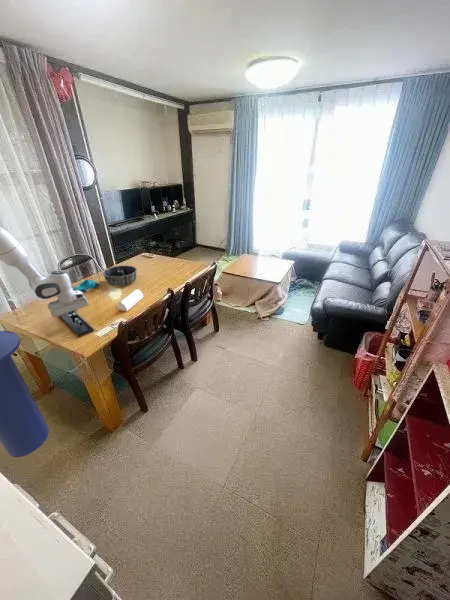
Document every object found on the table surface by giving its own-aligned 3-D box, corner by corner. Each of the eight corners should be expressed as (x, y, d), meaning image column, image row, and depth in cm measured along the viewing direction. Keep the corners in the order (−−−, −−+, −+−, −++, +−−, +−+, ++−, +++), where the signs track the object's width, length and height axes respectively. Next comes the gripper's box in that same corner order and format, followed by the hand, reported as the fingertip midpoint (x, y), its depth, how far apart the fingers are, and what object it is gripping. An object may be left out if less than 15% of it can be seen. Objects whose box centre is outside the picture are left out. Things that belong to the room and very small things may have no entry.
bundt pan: (122, 273, 228) (120, 263, 223) (145, 278, 218) (143, 267, 213) (98, 284, 207) (95, 273, 202) (122, 291, 197) (119, 279, 192)
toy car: (100, 285, 206) (98, 278, 202) (79, 294, 192) (77, 286, 188) (91, 283, 210) (89, 275, 207) (70, 291, 196) (68, 283, 193)
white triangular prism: (127, 308, 166) (146, 292, 186) (117, 302, 166) (138, 287, 186) (124, 316, 170) (143, 299, 190) (114, 310, 169) (135, 294, 190)
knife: (84, 328, 148) (82, 321, 146) (79, 330, 146) (77, 323, 144) (70, 310, 168) (68, 304, 166) (65, 311, 167) (63, 305, 165)
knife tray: (78, 337, 145) (77, 334, 144) (58, 314, 166) (57, 312, 165) (93, 331, 151) (92, 328, 150) (71, 310, 172) (70, 307, 171)
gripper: (48, 305, 141) (56, 325, 148) (86, 293, 154) (91, 312, 161) (44, 301, 145) (52, 321, 152) (82, 289, 158) (87, 309, 165)
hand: (73, 316), depth 156 cm, fingers closed on knife
